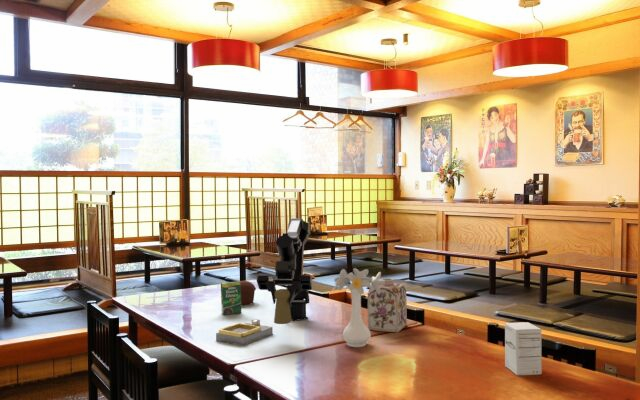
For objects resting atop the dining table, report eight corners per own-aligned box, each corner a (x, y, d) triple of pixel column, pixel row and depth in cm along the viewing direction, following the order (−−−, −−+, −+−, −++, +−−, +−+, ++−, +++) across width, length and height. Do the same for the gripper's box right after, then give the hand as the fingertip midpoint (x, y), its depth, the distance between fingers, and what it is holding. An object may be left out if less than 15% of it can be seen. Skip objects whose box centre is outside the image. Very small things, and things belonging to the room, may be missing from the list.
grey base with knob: (246, 329, 194) (246, 317, 194) (272, 333, 188) (272, 321, 188) (216, 340, 181) (215, 327, 181) (242, 345, 174) (242, 332, 174)
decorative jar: (407, 325, 197) (407, 277, 196) (398, 333, 186) (398, 282, 186) (377, 322, 202) (376, 275, 201) (366, 330, 191) (366, 280, 191)
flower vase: (390, 342, 175) (389, 267, 175) (351, 354, 163) (350, 273, 162) (362, 334, 185) (361, 263, 184) (323, 345, 172) (322, 269, 172)
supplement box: (504, 366, 150) (503, 322, 149) (529, 365, 150) (529, 321, 150) (516, 375, 142) (515, 329, 142) (542, 374, 143) (542, 328, 143)
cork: (289, 324, 175) (288, 291, 174) (271, 323, 176) (271, 291, 176) (293, 319, 181) (293, 287, 180) (276, 319, 182) (276, 287, 182)
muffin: (261, 302, 242) (261, 280, 241) (245, 307, 232) (245, 284, 232) (241, 299, 248) (241, 278, 248) (225, 304, 239) (225, 282, 238)
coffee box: (222, 315, 217) (221, 283, 217) (221, 313, 220) (220, 282, 220) (241, 313, 220) (241, 282, 220) (239, 311, 223) (239, 280, 223)
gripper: (257, 251, 183) (249, 289, 172) (310, 251, 180) (306, 290, 170) (262, 270, 191) (256, 307, 180) (313, 270, 188) (310, 308, 178)
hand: (281, 303), depth 177 cm, fingers closed on cork, 5 cm apart
